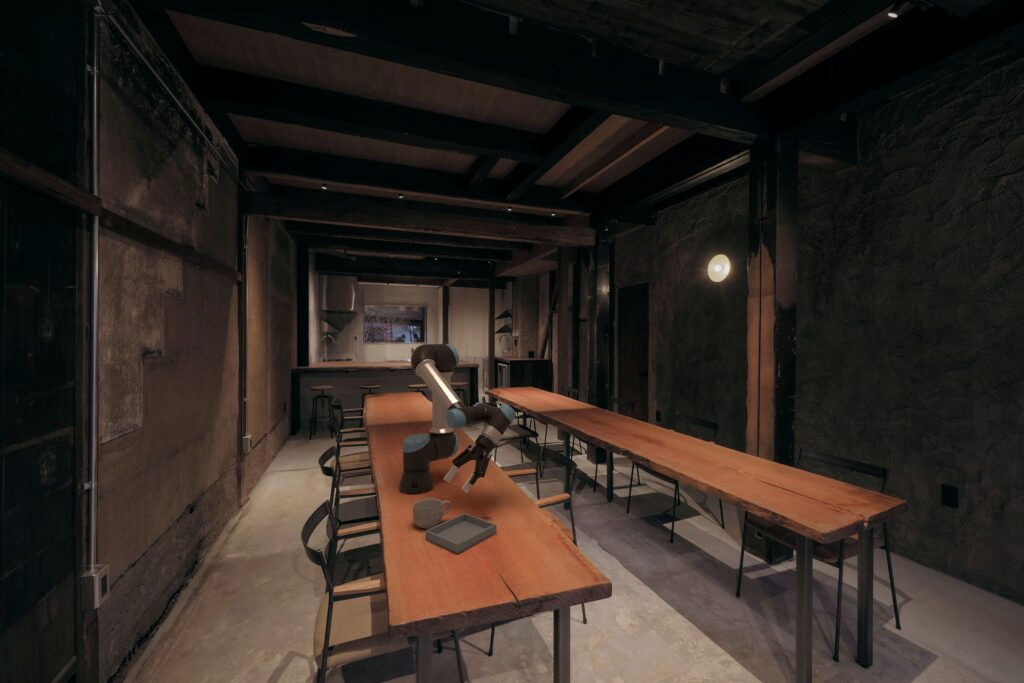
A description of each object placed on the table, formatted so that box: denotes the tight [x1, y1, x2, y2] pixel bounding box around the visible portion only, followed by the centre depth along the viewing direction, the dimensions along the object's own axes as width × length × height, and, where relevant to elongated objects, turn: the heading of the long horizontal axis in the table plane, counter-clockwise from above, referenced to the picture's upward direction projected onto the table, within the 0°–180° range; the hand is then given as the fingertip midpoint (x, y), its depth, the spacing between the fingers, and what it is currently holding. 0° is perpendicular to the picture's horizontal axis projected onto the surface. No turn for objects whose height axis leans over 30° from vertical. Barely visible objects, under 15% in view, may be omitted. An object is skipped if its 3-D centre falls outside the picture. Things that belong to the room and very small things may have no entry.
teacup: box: [412, 498, 452, 530], centre depth 151 cm, size 14×11×8 cm
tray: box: [424, 512, 497, 555], centre depth 142 cm, size 15×18×3 cm
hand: (454, 486), depth 155 cm, fingers open, 13 cm apart
